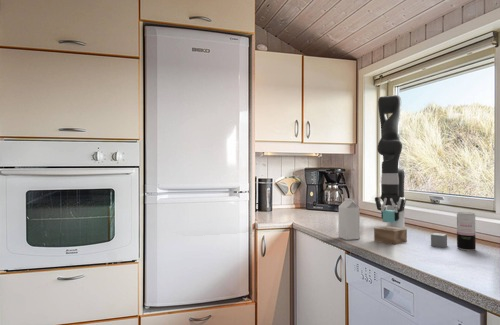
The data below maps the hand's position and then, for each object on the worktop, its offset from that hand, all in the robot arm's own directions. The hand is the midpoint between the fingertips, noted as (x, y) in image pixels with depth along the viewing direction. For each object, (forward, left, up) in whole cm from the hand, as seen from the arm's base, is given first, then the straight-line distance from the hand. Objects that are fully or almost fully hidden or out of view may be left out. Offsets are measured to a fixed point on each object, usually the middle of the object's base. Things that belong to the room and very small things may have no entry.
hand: (390, 220), depth 161 cm
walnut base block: (0, 0, -10) cm, 10 cm away
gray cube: (-5, +19, -10) cm, 22 cm away
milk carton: (+7, -17, -10) cm, 21 cm away
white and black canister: (-6, +29, -10) cm, 31 cm away
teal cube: (0, 0, -1) cm, 1 cm away
